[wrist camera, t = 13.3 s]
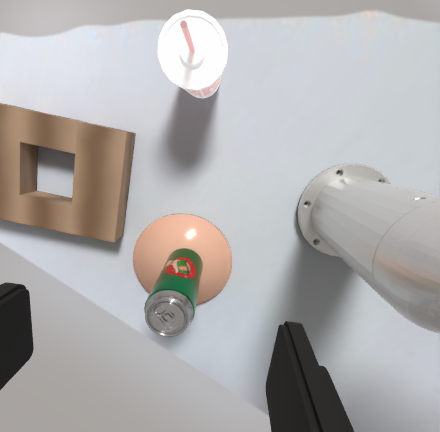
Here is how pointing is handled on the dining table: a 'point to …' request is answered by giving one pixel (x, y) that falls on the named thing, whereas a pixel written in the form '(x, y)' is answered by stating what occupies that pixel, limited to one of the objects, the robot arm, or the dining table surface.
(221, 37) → the beverage cup
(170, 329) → the soda can
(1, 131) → the pocket board
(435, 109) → the dining table surface
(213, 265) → the peach domed disc
